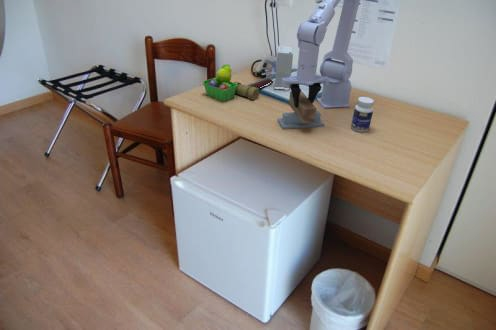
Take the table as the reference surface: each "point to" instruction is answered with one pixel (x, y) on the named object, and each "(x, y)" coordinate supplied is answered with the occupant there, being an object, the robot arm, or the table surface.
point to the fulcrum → (298, 121)
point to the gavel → (250, 89)
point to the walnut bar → (303, 108)
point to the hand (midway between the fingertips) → (302, 105)
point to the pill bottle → (362, 114)
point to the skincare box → (283, 65)
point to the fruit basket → (221, 85)
